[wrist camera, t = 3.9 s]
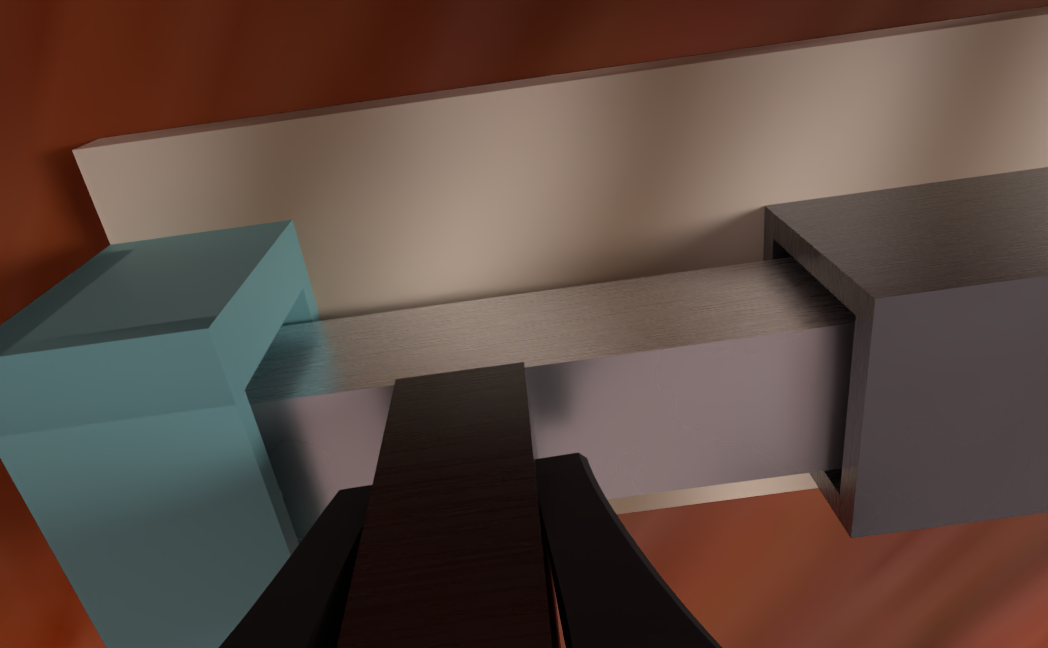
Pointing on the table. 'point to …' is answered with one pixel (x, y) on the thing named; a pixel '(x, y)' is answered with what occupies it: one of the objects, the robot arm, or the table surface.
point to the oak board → (592, 168)
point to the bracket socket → (156, 428)
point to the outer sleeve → (935, 346)
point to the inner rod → (540, 427)
